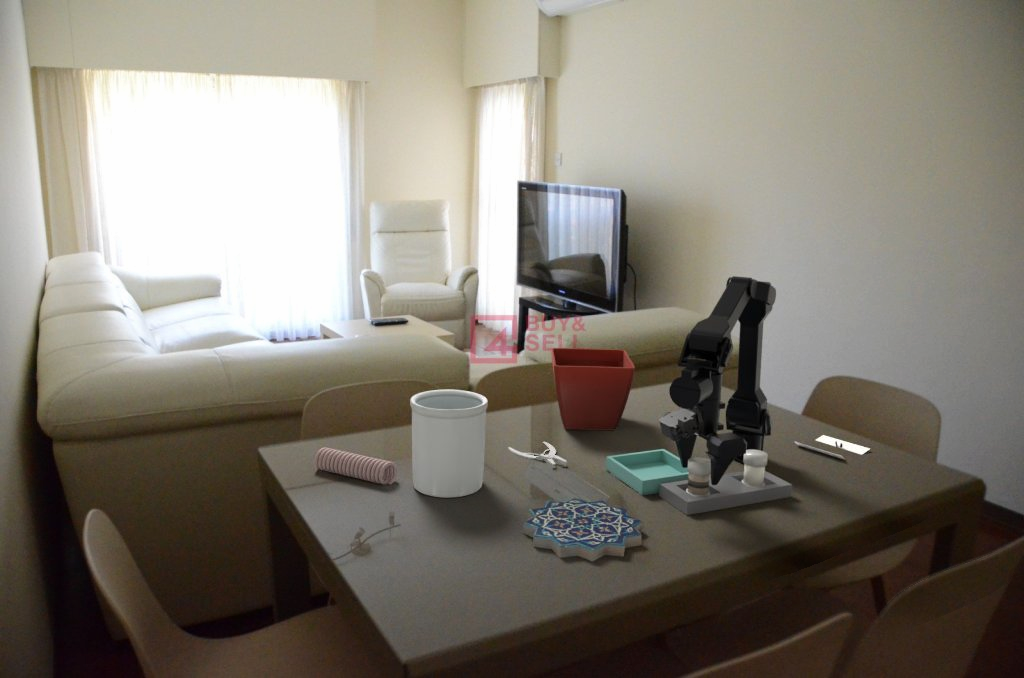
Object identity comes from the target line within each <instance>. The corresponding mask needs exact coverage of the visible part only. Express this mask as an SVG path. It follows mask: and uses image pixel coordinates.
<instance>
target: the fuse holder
mask: <svg viewBox="0 0 1024 678" xmlns="http://www.w3.org/2000/svg"><path fill="white" fill-rule="evenodd" d="M743 478H744V470H742V471H737V472H729V473H724V475H723V476H722V478H721V480H720V481H719V483H718V484H717V485H712V484H711V475H710V476H709V490H708V491H709V492H710V495H704V496H698V497H693V496H692V495H690V494H689V493H687V492H686V489H687V488H688V480H683V481H677V482H670V483H664V484H660V493H658V494H659V497H660V498H661V499H662V500H664V501H665V502H667V503H668V504H670V505H671V506H673V507H674V508H675V509H677V510H679V511H680V512H682V513H683V514H685V515H686V516H689V515H694V514H701V513H706V512H713V511H718V510H722V509H728V508H729V509H730V508H734V507H739V506H740V507H741V506H746V505H753V504H757V503H763V502H768V501H774V500H775V501H776V500H780V499H786V498H791V497H792V489H793V484H792V483H791V482H790V483H789V482H788V481H786V480H784V479H782V478H780V477H778V476H777V475H774V474H772V473H770V472H768V471H766V470H765V473H764V483H765V486H758V487H752V488H751V487H749V486H747V485H746V484H744V483H742V480H743Z"/></svg>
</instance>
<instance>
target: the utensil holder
mask: <svg viewBox="0 0 1024 678" xmlns="http://www.w3.org/2000/svg"><path fill="white" fill-rule="evenodd" d="M409 402H410V403H409V404H410V408H411V439H412V440H411V447H412V449H411V452H412V453H411V454H412V455H411V458H412V459H411V460H412V461H411V462H412V484H413V488H414V489H415V490H416V491H418V492H419V493H421V494H423V495H426V496H430V497H435V498H445V499H446V498H460V497H464V496H465V497H466V496H468V495H472V494H474V493H477V492H478V491H479V490H480V489H481V488H482V486H483V480H484V469H485V467H484V464H485V447H486V446H485V444H486V443H485V441H486V428H487V427H486V423H487V409H488V406H489V402H488V398H486V396H484V395H483V394H479V393H477V392H473V391H468V390H462V389H449V388H447V389H435V390H434V389H433V390H427V391H423V392H422V391H421V392H418V393H416V394H414V395H413V396H411V398H410V400H409Z"/></svg>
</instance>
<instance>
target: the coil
mask: <svg viewBox="0 0 1024 678" xmlns="http://www.w3.org/2000/svg"><path fill="white" fill-rule="evenodd" d="M314 466H315V468H316V469H317V470H321V471H325V472H329V473H333V474H337V475H341V476H346V477H349V478H354V479H358V480H362V481H366V482H367V481H368V482H370V483H377V484H380V485H383V486H384V485H387V484H388V485H392V484H394V483H395V481H396V480H397V479H396V478H397V474H398V467H397V465H396V463H394V462H393V461H389V460H384V459H380V458H375V457H371V456H367V455H362V454H358V453H357V454H356V453H355V452H354V453H352V452H348V451H345V450H339V449H334V448H330V447H322V448H320V449H319V450H318V451H317V452H316V454H315V457H314Z"/></svg>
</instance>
